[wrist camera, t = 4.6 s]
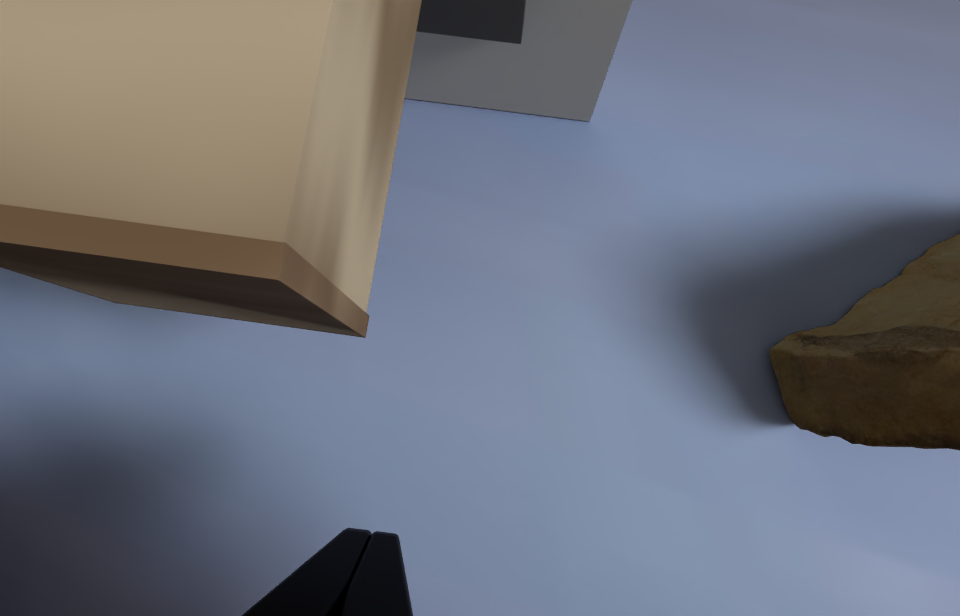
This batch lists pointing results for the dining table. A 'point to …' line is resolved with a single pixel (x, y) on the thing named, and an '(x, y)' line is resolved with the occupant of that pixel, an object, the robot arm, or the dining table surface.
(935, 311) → the rock
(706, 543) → the dining table surface
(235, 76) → the peg
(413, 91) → the off-white upright box
